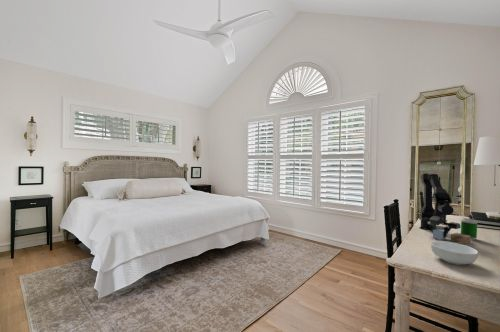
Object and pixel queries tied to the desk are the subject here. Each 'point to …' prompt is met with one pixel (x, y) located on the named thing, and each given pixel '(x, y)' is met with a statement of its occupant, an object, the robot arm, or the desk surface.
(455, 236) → the walnut plinth
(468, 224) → the soda can
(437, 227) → the charcoal cube
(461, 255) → the cereal bowl
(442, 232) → the blue cube
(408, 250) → the desk surface
